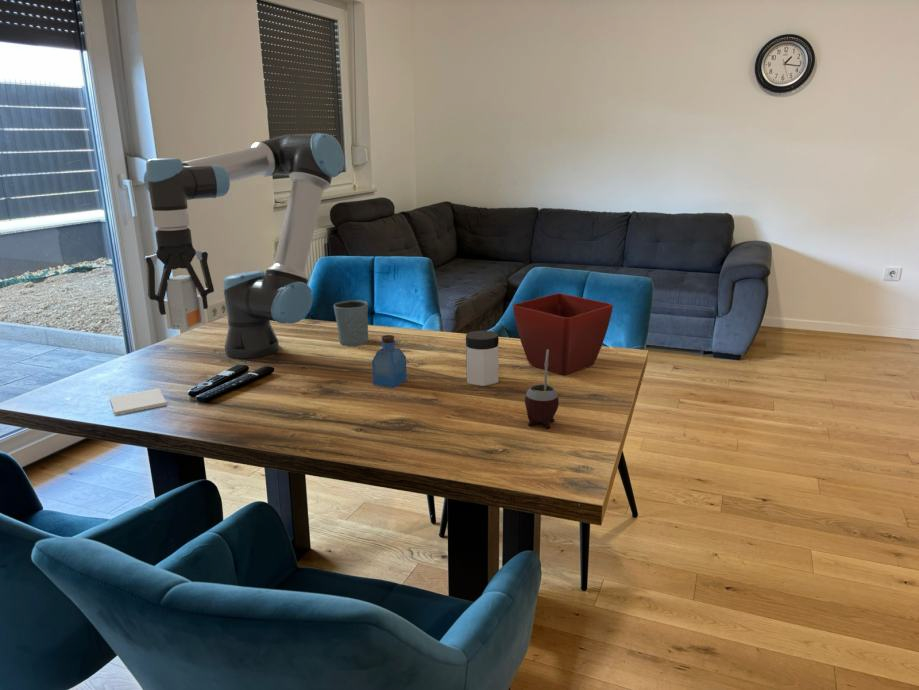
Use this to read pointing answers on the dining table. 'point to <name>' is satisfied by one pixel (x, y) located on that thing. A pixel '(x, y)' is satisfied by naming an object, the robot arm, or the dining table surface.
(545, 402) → the mate gourd
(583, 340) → the plant pot
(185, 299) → the skincare box
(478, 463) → the dining table surface
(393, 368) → the perfume bottle
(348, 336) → the grey cup
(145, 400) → the coaster
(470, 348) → the jar
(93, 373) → the dining table surface
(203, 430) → the dining table surface
